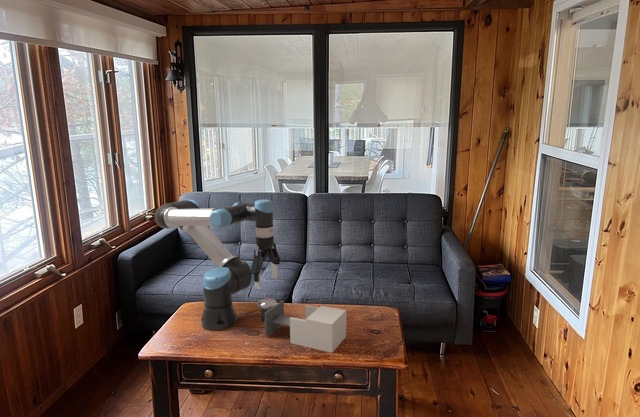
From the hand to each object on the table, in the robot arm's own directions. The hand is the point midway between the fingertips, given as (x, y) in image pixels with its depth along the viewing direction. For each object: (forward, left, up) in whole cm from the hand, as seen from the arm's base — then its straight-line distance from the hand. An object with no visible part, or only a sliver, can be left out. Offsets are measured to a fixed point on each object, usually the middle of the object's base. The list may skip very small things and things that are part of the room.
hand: (266, 283), depth 191 cm
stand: (0, 0, -17) cm, 17 cm away
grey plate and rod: (+17, -8, -16) cm, 25 cm away
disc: (0, 0, -11) cm, 11 cm away
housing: (+29, -8, -17) cm, 34 cm away
